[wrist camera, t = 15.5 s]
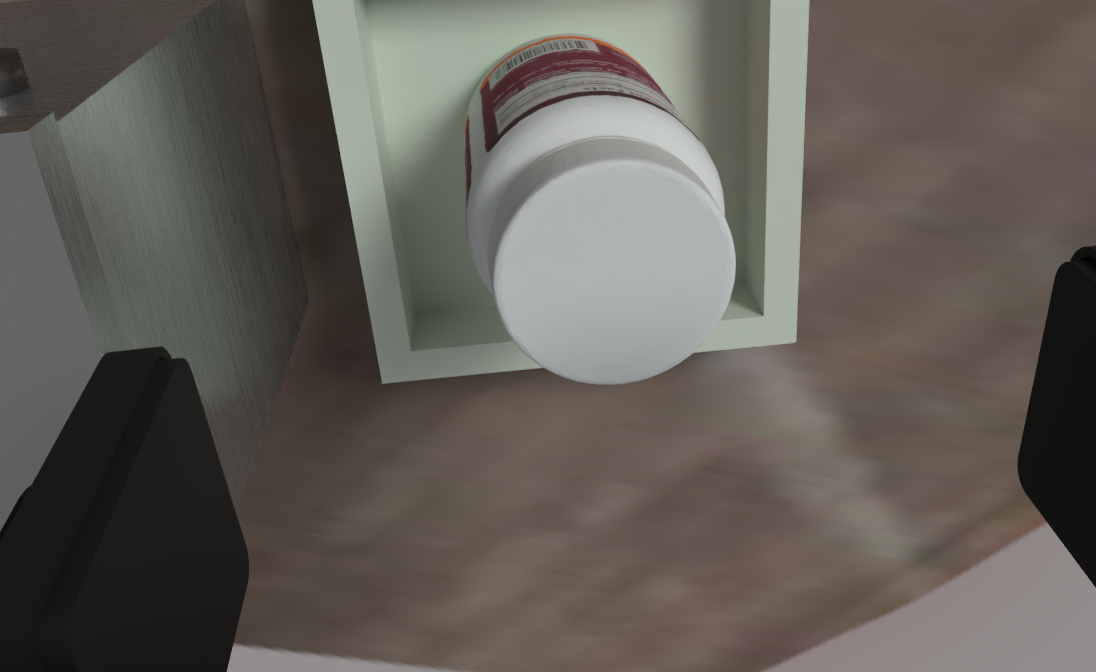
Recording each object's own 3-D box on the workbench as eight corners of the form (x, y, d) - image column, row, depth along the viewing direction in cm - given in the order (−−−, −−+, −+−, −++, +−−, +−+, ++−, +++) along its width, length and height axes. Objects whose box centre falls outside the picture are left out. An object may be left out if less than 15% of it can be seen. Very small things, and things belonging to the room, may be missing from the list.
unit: (-145, -7, 22) (-765, 188, 11) (248, -44, 22) (21, 113, 11) (-8, 348, 26) (-360, 747, 15) (322, 315, 27) (210, 688, 16)
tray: (321, -75, 22) (301, -60, 20) (776, -118, 22) (813, -107, 20) (391, 329, 27) (382, 383, 24) (766, 292, 27) (796, 342, 25)
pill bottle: (615, 254, 25) (680, 441, 18) (434, 186, 24) (424, 356, 17) (702, 76, 24) (815, 203, 16) (510, -7, 22) (537, 89, 15)
